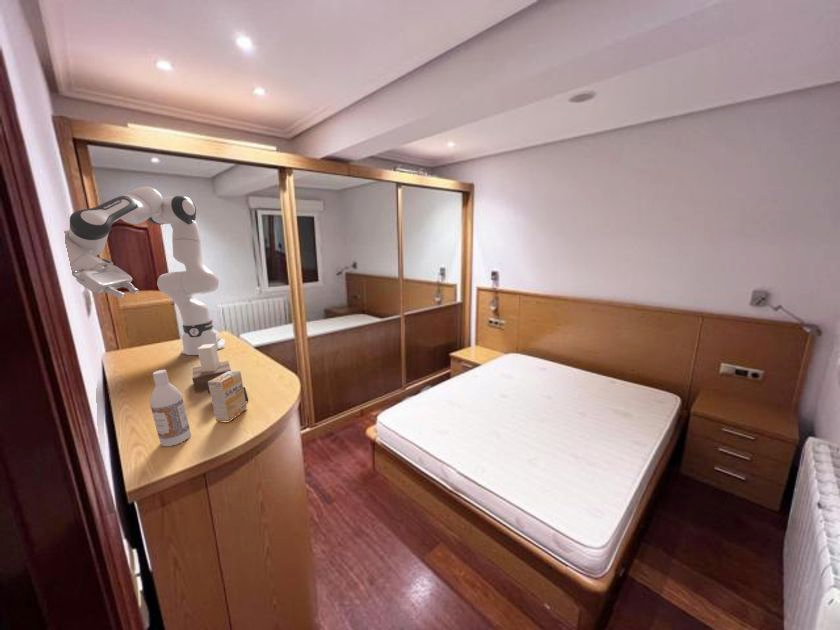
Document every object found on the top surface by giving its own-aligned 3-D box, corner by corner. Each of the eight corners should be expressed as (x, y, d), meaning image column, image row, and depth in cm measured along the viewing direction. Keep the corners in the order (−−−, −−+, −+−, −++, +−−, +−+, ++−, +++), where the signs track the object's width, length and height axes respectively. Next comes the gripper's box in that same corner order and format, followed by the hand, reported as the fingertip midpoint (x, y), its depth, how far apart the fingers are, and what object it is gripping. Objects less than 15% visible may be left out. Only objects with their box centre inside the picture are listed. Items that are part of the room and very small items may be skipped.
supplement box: (229, 423, 102) (221, 382, 99) (215, 422, 103) (206, 381, 100) (248, 409, 110) (241, 370, 106) (235, 408, 110) (227, 370, 107)
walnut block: (195, 382, 133) (192, 367, 132) (231, 374, 139) (228, 360, 138) (195, 394, 123) (192, 378, 122) (233, 384, 129) (230, 369, 128)
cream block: (207, 367, 131) (202, 344, 129) (220, 365, 132) (215, 343, 130) (202, 371, 127) (197, 348, 125) (215, 370, 128) (210, 347, 126)
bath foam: (154, 446, 92) (135, 377, 87) (175, 431, 99) (159, 366, 94) (176, 448, 91) (159, 377, 86) (197, 433, 97) (181, 366, 93)
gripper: (74, 264, 108) (119, 292, 113) (111, 259, 127) (149, 283, 132) (61, 279, 108) (107, 306, 113) (100, 272, 127) (138, 296, 132)
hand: (130, 294), depth 123 cm, fingers open, 8 cm apart
